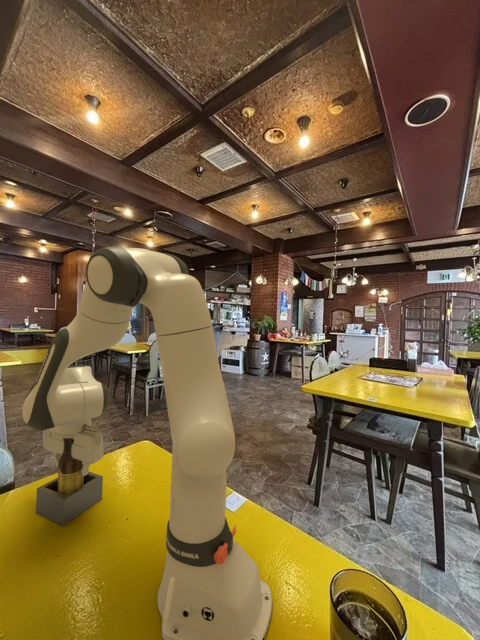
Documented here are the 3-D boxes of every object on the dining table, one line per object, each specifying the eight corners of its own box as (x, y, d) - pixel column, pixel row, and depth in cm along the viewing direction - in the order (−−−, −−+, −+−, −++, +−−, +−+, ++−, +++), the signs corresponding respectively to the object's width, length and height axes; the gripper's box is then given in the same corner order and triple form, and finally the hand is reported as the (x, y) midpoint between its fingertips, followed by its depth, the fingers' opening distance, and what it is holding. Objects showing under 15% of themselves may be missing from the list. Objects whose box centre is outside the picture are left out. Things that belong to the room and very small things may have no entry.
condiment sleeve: (101, 499, 83) (102, 476, 83) (63, 526, 72) (64, 499, 72) (76, 489, 87) (76, 467, 87) (35, 513, 76) (36, 488, 76)
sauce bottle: (66, 496, 83) (69, 428, 83) (87, 497, 82) (90, 429, 82) (50, 511, 76) (53, 438, 76) (73, 512, 76) (76, 439, 76)
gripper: (110, 424, 79) (108, 474, 79) (60, 412, 86) (58, 457, 86) (90, 433, 73) (88, 486, 73) (38, 419, 80) (36, 467, 80)
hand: (71, 470), depth 80 cm, fingers open, 8 cm apart
